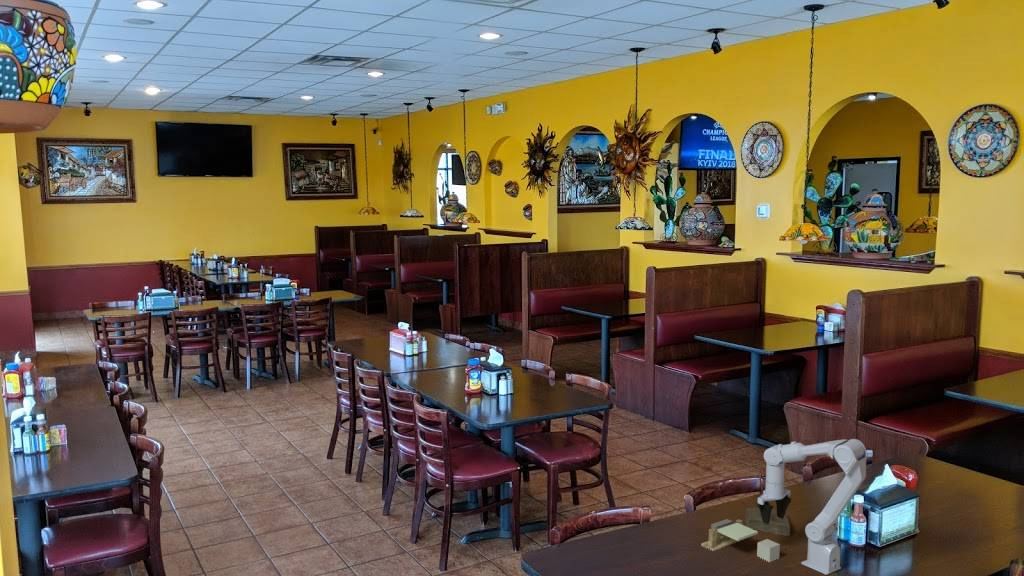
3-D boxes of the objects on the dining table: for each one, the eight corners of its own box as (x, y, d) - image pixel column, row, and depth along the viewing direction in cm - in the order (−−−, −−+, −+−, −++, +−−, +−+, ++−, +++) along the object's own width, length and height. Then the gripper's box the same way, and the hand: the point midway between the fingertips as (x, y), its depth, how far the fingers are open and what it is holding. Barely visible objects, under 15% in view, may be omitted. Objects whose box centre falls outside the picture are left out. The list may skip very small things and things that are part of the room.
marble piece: (790, 537, 279) (791, 526, 278) (746, 534, 282) (747, 522, 281) (785, 518, 295) (786, 508, 294) (744, 515, 298) (744, 504, 298)
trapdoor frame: (742, 540, 276) (743, 521, 275) (712, 551, 267) (713, 531, 266) (731, 535, 280) (731, 516, 279) (701, 545, 271) (701, 526, 271)
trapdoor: (757, 534, 267) (758, 530, 266) (737, 541, 261) (738, 537, 261) (728, 522, 277) (729, 518, 277) (709, 528, 271) (709, 524, 271)
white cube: (779, 558, 262) (779, 544, 261) (769, 562, 259) (770, 548, 259) (766, 553, 266) (767, 538, 265) (756, 557, 263) (757, 542, 263)
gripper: (778, 473, 273) (777, 511, 274) (750, 482, 265) (749, 521, 266) (796, 479, 267) (794, 518, 269) (768, 488, 259) (766, 528, 261)
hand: (773, 520), depth 267 cm, fingers open, 7 cm apart
